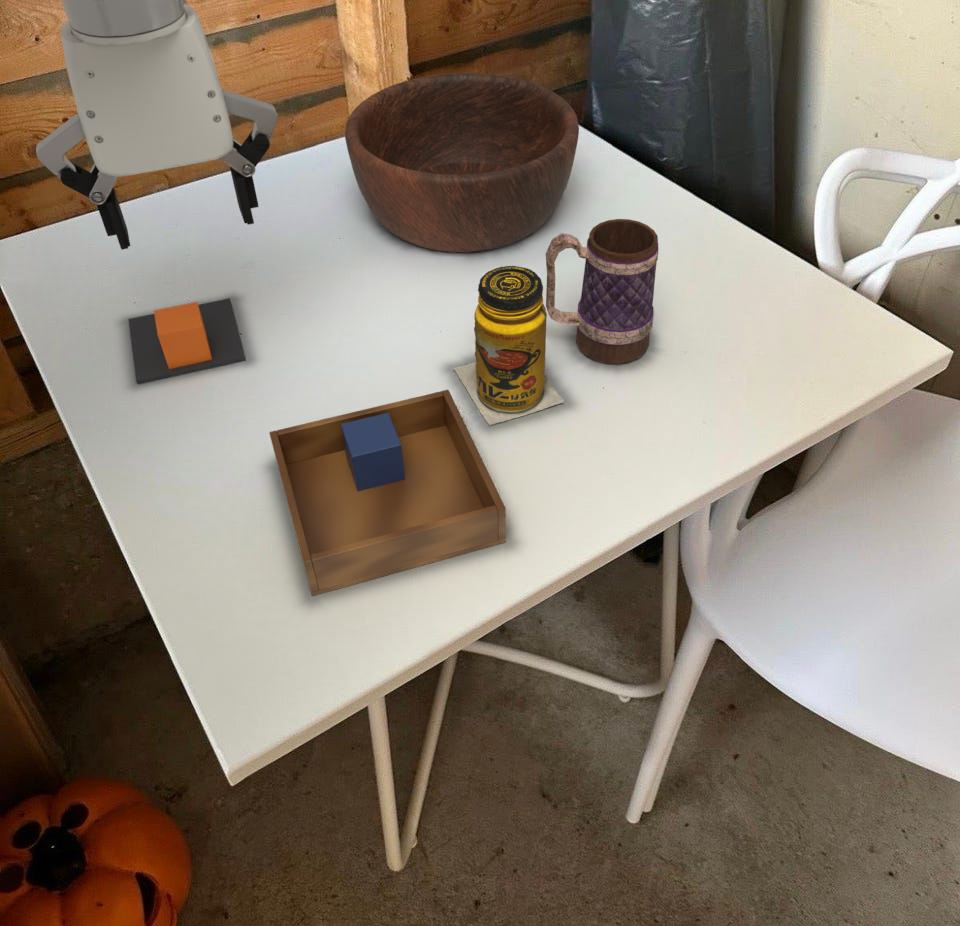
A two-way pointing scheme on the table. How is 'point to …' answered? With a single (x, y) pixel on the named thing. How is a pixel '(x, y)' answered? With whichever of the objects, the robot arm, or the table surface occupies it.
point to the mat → (223, 352)
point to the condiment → (509, 347)
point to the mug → (610, 289)
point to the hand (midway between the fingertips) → (186, 227)
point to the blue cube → (373, 451)
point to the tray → (388, 495)
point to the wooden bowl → (462, 158)
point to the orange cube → (182, 335)
